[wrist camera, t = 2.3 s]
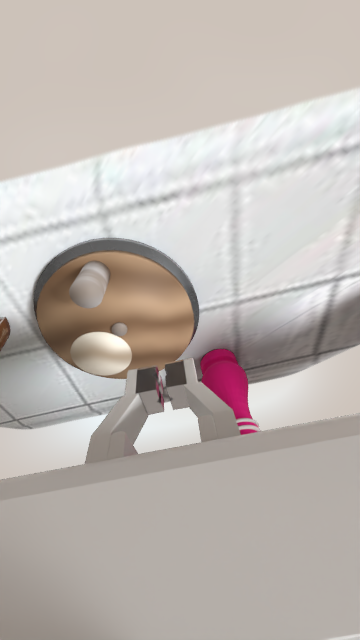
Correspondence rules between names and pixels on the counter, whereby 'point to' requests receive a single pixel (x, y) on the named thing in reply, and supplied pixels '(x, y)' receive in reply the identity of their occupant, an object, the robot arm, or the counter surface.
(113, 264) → the turntable
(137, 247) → the base
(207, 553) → the robot arm
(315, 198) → the counter surface
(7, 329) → the food container
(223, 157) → the counter surface
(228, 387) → the pepper mill
